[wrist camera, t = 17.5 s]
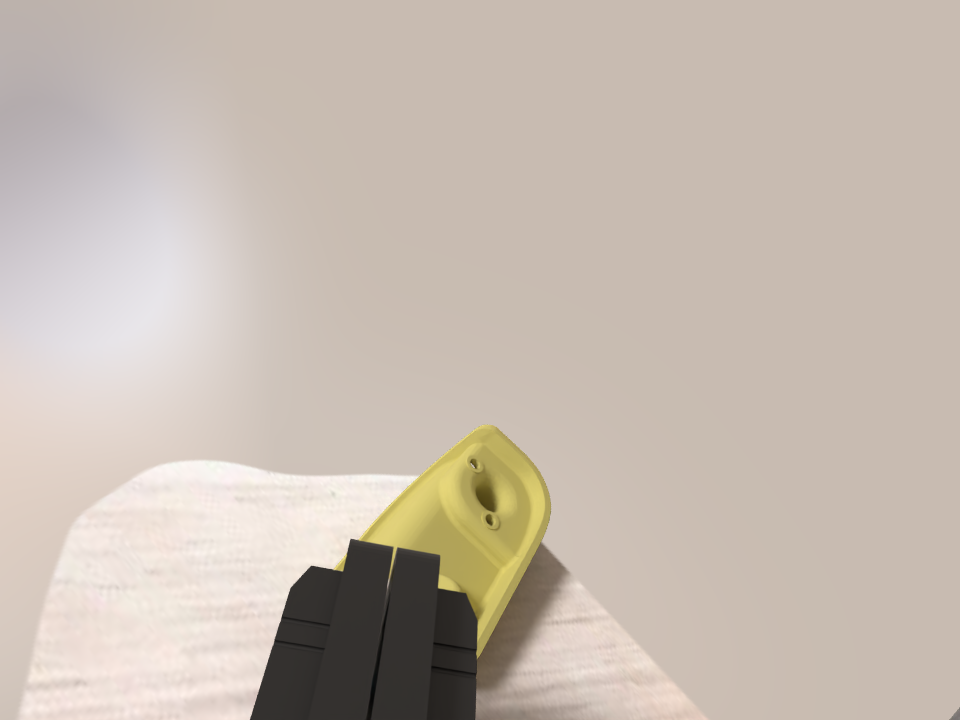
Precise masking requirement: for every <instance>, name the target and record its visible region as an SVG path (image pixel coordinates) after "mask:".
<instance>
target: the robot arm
mask: <svg viewBox="0 0 960 720" xmlns="http://www.w3.org/2000/svg"><path fill="white" fill-rule="evenodd" d="M393 549H394V547H393V546H387V545H382V544H376V543H371V542H365V541H360V540H354V539H351V540H350V543H349V548H348V552H347V556H346V560H345V565H344V569H343V571H338V570H333V569H327V568H321V567H316V566H311V567H310V568H309V569H308V570H307V571H306V572H305V573H304V574H303V575H302V576H301V577H300V578H299V579H298V581H297V582H296V583H295V584H294V585H293V586H292V587H291V588H290V592H289V595H288V598H287V601H286V605H285V608H284V611H283V614H282V618H281V622H280V624H279V627H278V631H277V634H276V637H275V641H274V645H273V647H272V650H271V653H270V657H269V660H268V663H267V666H266V669H265V673H264V676H263V679H262V682H261V686H260V689H259V692H258V695H257V699H256V702H255V705H254V708H253V712H252V715H251V718H250V720H475V712H476V673H477V655H476V652H477V634H478V620H477V617H476V615H475V613H474V610H473V608H472V606H471V604H470V601H469V599H468V597H467V594H466V593H463V592H457V591H452V590H446V589H440V588H438V582H439V571H440V555H438V554H432V553H427V552H421V551H416V550H410V549H405V548H399V547H397V550H396V553H395V558H394V562H393V566H392V570H391V575H390V579H389V574H390V568H391V562H392V556H393ZM388 580H389V583H388ZM387 586H388V587H387ZM950 720H960V708H959V709H958V710H957V712H956V713H955V714H954V715H953V716H952V718H951V719H950Z"/></svg>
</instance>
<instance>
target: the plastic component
mask: <svg viewBox="0 0 960 720" xmlns="http://www.w3.org/2000/svg"><path fill="white" fill-rule="evenodd" d="M471 463H472V464H473V465H474V467H475V468H473V467H472V466H471ZM550 514H551V502H550V496H549V492H548V489H547V486H546V483H545V481H544V479H543V477H542V475H541V473H540V472H539V470H538V469H537V467H536V466H535V465H534V463H533V462H532V461H531V460H530V459H529V458H528V456H527V455H526V454H525V453H524V452H522V451H521V450H520V449H519V448H518V447H517V446H516V445H515V444H514V443H513V442H512V441H511V440H510V439H509V438H508V437H507V436H505V435H504V434H503V433H502V432H501V431H500V430H499V429H498V428H497V427H495V426H493V425H482V426H479V427H478V428H476V429H475V430H474V431H472V432H471V433H470V434H468V435H467V436H466V437H465V438H463V439H462V440H461V441H460V442H458V443H457V444H456V445H455V446H454V447H452V448H451V449H450V450H449V451H448V452H446V453H445V454H444V455H443V456H442V457H440V458H439V459H438V460H437V461H436V462H435V463H434V464H432V465H431V466H430V467H429V468H428V469H427V470H426V471H425V472H424V473H422V474H421V475H420V476H419V477H418V478H417V479H416V480H415V481H414V482H413V483H412V484H411V485H409V486H408V487H407V488H406V489H405V490H404V491H403V492H402V493H401V494H400V495H399V496H398V497H397V498H396V499H395V500H394V501H393V502H392V503H391V504H390V505H389V506H388V507H387V508H386V509H385V510H384V511H383V513H382V514H381V515H380V516H379V517H378V518H377V519H376V520H375V521H374V522H373V523H372V525H371V526H370V527H369V528H368V529H367V530H366V531H365V533H364V534H363V535H362V536H361V537H360V539H359V540H360V541H365V542H371V543H376V544H382V545H387V546H393V547H394V549H393V556H392V562H391V568H390V574H389V579H390V575H391V570H392V566H393V562H394V558H395V553H396V550H397V547H399V548H405V549H410V550H416V551H421V552H427V553H432V554H438V555H440V571H439V582H438V588H440V589H446V590H452V591H457V592H463V593H466V594H467V597H468V599H469V601H470V604H471V606H472V608H473V610H474V613H475V615H476V617H477V620H478V634H477V652H476V655H477V658H478V657H479V656H480V654H481V653H482V651H483V649H484V647H485V645H486V643H487V641H488V640H489V638H490V636H491V634H492V632H493V630H494V628H495V627H496V625H497V623H498V621H499V619H500V617H501V615H502V614H503V612H504V610H505V608H506V606H507V604H508V603H509V601H510V599H511V597H512V595H513V593H514V591H515V590H516V588H517V586H518V584H519V582H520V580H521V578H522V577H523V575H524V573H525V571H526V569H527V567H528V565H529V564H530V562H531V560H532V558H533V556H534V554H535V553H536V551H537V549H538V547H539V545H540V543H541V541H542V539H543V537H544V534H545V532H546V529H547V526H548V523H549V519H550ZM490 524H491V525H490ZM346 556H347V554H346V555H345V556H344V558H343V559H342V560H341V561H340V562H339V563H338V565H337V566H336V567H335V568H334V569H333V570H339V571H343V569H344V565H345V560H346Z"/></svg>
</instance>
